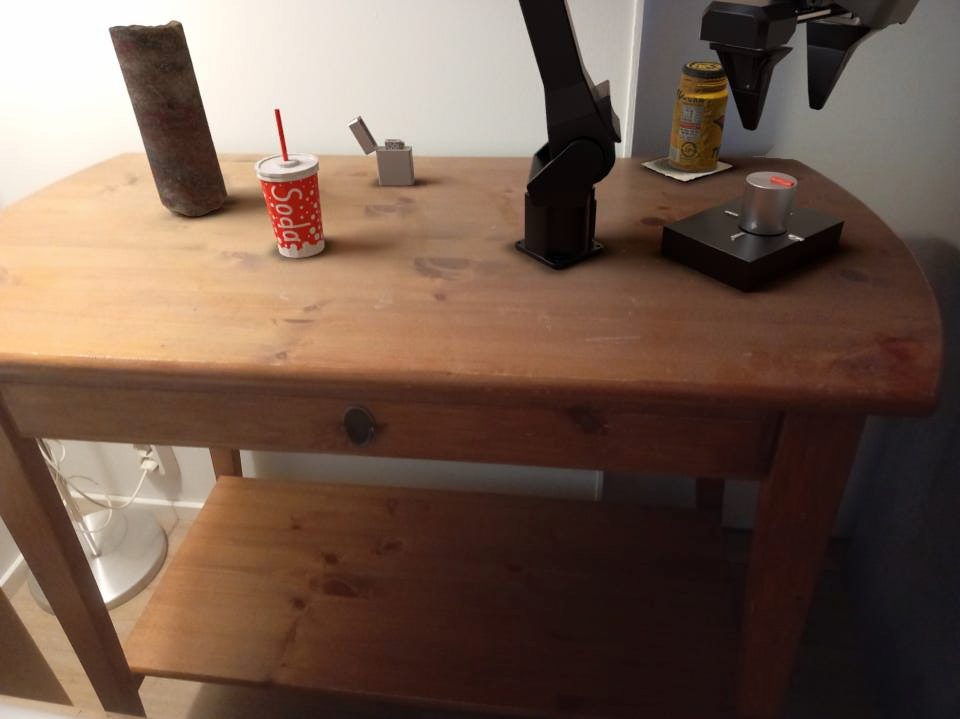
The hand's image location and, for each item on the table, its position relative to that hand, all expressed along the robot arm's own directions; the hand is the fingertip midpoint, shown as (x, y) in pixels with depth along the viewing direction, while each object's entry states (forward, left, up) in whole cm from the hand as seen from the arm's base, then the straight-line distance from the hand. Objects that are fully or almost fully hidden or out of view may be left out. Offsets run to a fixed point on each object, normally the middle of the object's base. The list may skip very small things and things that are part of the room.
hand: (783, 119), depth 64 cm
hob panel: (0, +1, -13) cm, 13 cm away
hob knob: (0, 0, -10) cm, 10 cm away
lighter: (-18, +41, -13) cm, 47 cm away
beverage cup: (-34, +30, -13) cm, 47 cm away
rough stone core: (-39, +49, -13) cm, 64 cm away
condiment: (+14, +21, -13) cm, 28 cm away
